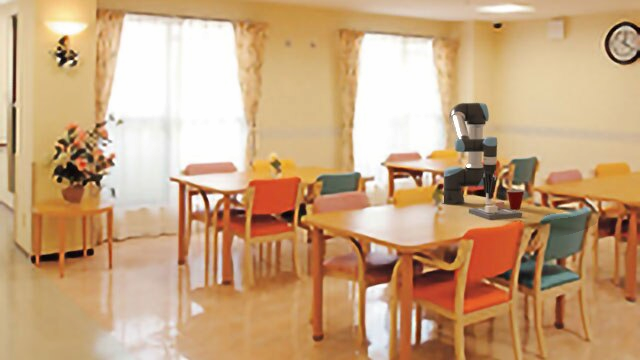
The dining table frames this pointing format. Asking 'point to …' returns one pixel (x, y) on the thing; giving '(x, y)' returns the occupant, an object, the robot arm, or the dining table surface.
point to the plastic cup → (515, 198)
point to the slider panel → (500, 214)
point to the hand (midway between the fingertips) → (488, 204)
